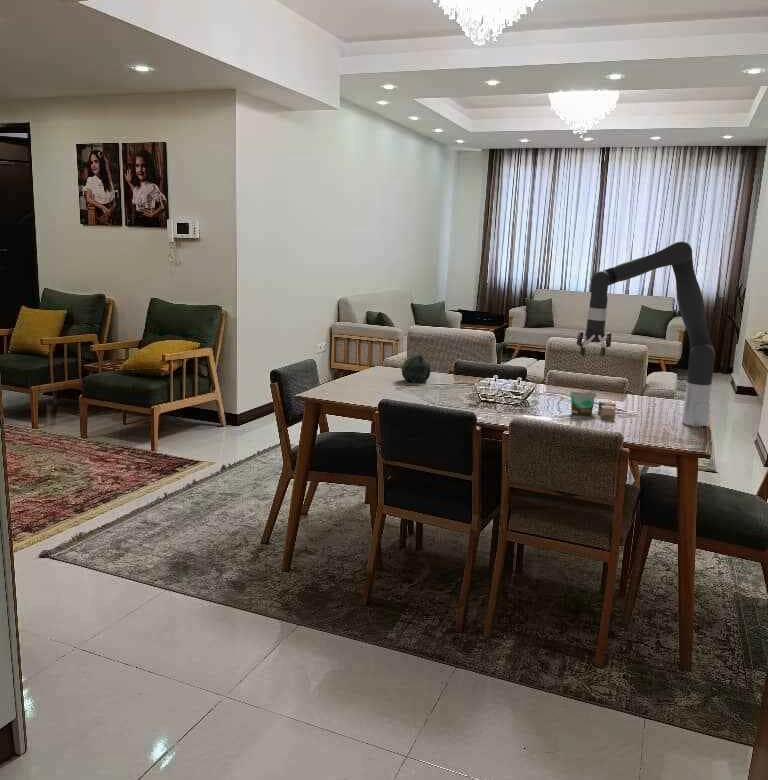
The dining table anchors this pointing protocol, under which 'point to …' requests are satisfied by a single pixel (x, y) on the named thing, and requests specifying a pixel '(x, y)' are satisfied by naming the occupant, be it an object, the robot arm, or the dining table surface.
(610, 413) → the marked block
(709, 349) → the robot arm
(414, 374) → the squash
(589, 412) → the food container
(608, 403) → the marked block
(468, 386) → the dining table surface
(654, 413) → the dining table surface
